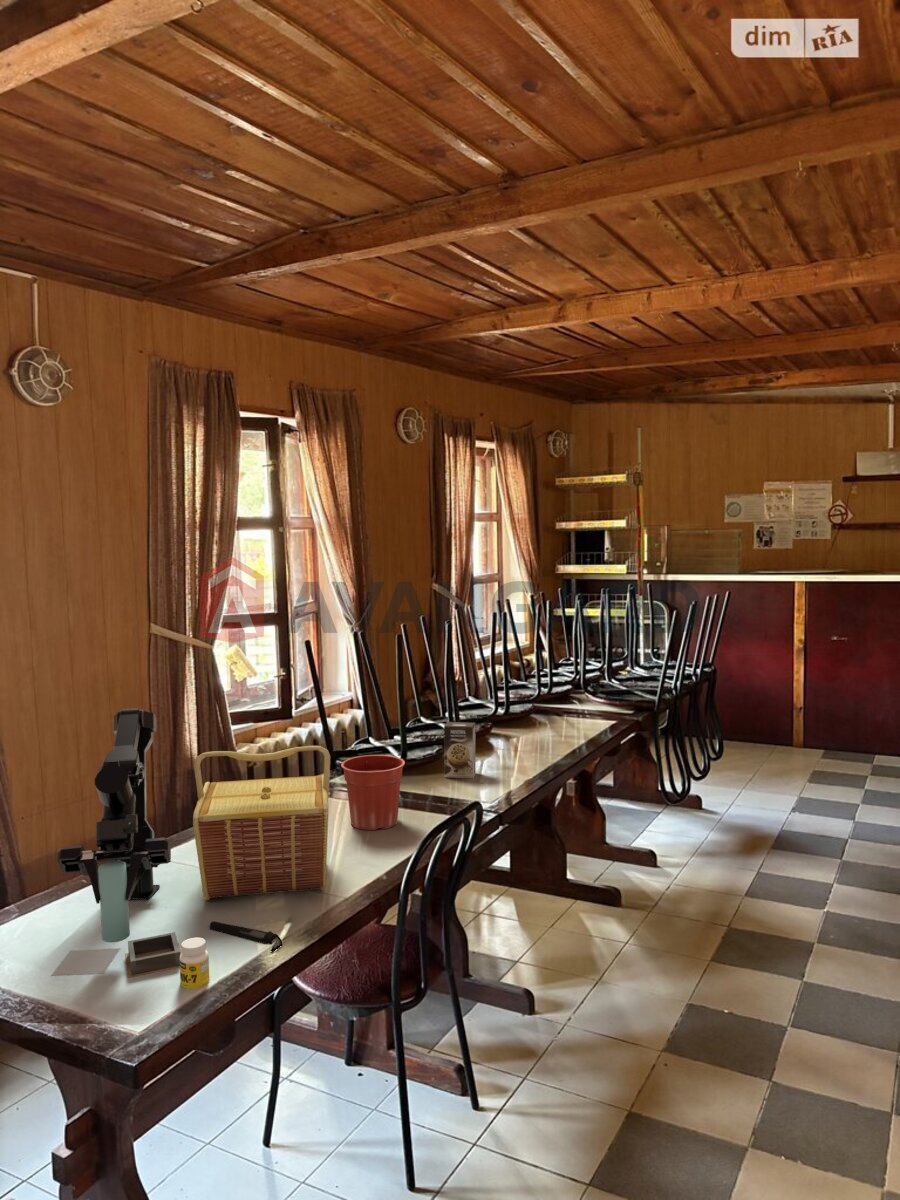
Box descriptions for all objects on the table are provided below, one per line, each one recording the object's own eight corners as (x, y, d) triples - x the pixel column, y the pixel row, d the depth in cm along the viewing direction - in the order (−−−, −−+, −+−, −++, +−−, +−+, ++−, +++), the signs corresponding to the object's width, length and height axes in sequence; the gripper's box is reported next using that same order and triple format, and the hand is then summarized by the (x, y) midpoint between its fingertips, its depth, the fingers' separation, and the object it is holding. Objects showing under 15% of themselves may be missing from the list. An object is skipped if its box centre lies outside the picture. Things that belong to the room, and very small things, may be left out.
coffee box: (444, 777, 271) (442, 726, 269) (447, 771, 277) (446, 721, 276) (473, 778, 269) (472, 726, 268) (476, 772, 276) (475, 721, 274)
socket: (125, 961, 161) (124, 940, 161) (179, 950, 165) (178, 930, 164) (128, 986, 152) (127, 964, 152) (185, 974, 156) (183, 952, 156)
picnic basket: (191, 913, 181) (184, 769, 178) (206, 864, 206) (200, 738, 203) (336, 900, 185) (331, 760, 182) (332, 854, 211) (328, 731, 208)
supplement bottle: (174, 994, 150) (172, 946, 149) (192, 980, 154) (190, 934, 153) (198, 999, 148) (196, 951, 147) (215, 985, 152) (213, 938, 151)
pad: (70, 958, 163) (70, 950, 163) (120, 956, 163) (120, 948, 163) (51, 983, 154) (51, 975, 154) (104, 981, 154) (103, 973, 154)
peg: (112, 928, 160) (108, 859, 159) (135, 931, 159) (131, 861, 158) (96, 940, 156) (92, 869, 154) (119, 943, 155) (115, 872, 153)
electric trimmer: (219, 932, 173) (218, 916, 173) (284, 946, 166) (283, 929, 166) (206, 940, 170) (205, 924, 169) (272, 955, 163) (271, 938, 163)
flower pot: (397, 809, 242) (395, 751, 241) (413, 829, 227) (412, 767, 225) (337, 816, 237) (335, 758, 236) (350, 837, 222) (348, 774, 220)
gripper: (56, 803, 157) (46, 889, 147) (166, 794, 161) (163, 877, 151) (67, 831, 165) (59, 913, 156) (172, 821, 169) (169, 901, 160)
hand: (112, 901), depth 156 cm, fingers closed on peg, 5 cm apart
